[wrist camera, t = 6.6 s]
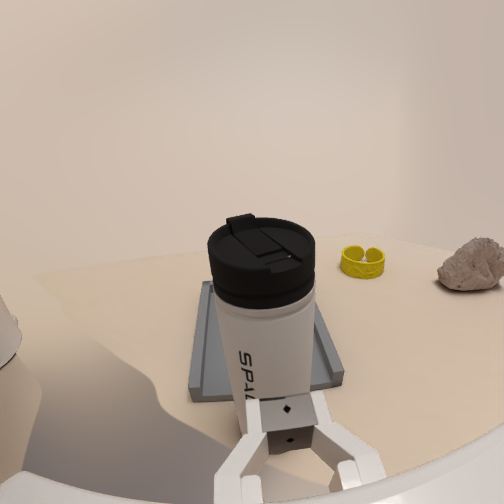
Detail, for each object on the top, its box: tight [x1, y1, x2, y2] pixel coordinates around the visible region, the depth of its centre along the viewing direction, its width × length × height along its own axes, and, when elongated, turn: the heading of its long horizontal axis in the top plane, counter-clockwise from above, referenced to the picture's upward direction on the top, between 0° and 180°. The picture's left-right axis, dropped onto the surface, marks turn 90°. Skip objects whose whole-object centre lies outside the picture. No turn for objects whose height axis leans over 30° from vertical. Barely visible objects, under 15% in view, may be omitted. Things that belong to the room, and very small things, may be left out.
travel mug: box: [207, 213, 316, 454], centre depth 21 cm, size 6×7×20 cm
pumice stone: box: [437, 237, 504, 291], centre depth 41 cm, size 15×8×10 cm, turn 81°
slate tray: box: [188, 281, 344, 402], centre depth 39 cm, size 16×22×2 cm
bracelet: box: [341, 246, 385, 279], centre depth 52 cm, size 7×8×3 cm
